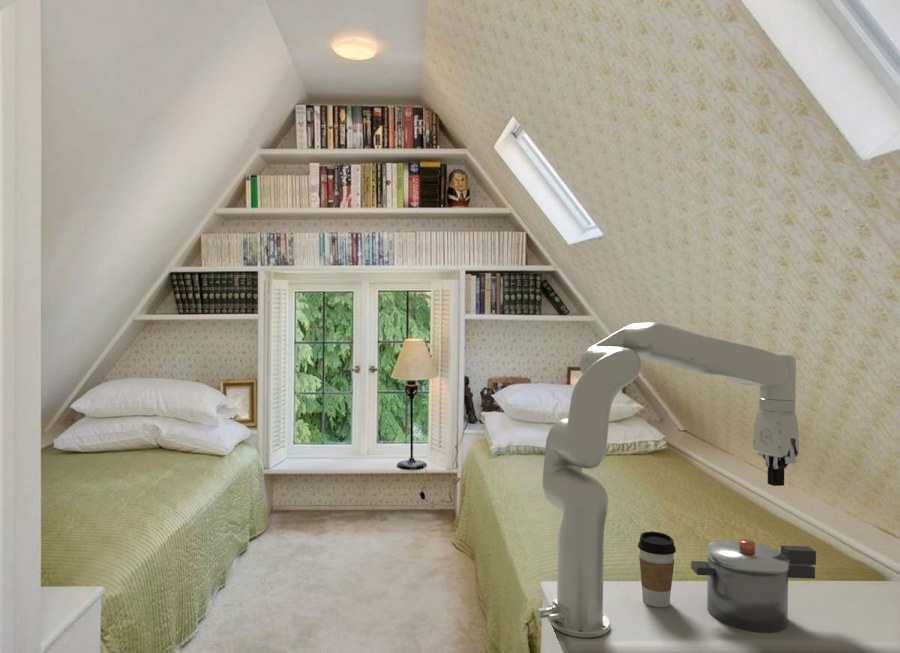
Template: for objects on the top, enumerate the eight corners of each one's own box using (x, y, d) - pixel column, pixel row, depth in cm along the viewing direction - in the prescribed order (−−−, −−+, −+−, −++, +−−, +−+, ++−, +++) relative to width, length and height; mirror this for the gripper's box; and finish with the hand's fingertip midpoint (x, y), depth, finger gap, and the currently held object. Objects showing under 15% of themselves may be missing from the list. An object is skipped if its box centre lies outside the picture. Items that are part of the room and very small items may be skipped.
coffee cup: (669, 595, 143) (670, 531, 143) (680, 611, 134) (680, 543, 134) (633, 593, 143) (634, 530, 144) (641, 609, 135) (642, 542, 135)
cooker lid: (722, 572, 125) (722, 553, 126) (695, 545, 142) (696, 528, 142) (833, 577, 124) (833, 558, 124) (793, 549, 140) (793, 532, 140)
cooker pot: (707, 630, 125) (708, 572, 126) (681, 597, 141) (681, 546, 142) (832, 635, 124) (832, 577, 125) (791, 601, 140) (791, 549, 141)
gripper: (741, 403, 148) (740, 478, 147) (787, 410, 133) (786, 493, 133) (767, 403, 149) (766, 477, 149) (816, 410, 134) (814, 492, 134)
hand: (775, 484), depth 141 cm, fingers closed
